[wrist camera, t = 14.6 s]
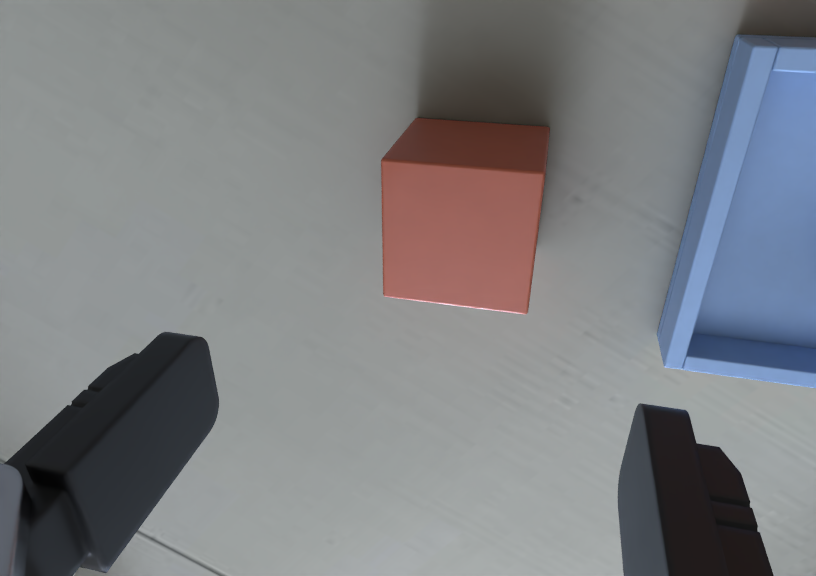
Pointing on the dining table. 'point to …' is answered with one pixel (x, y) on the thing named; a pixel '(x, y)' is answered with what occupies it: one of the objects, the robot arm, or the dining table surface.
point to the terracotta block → (463, 213)
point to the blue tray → (752, 225)
